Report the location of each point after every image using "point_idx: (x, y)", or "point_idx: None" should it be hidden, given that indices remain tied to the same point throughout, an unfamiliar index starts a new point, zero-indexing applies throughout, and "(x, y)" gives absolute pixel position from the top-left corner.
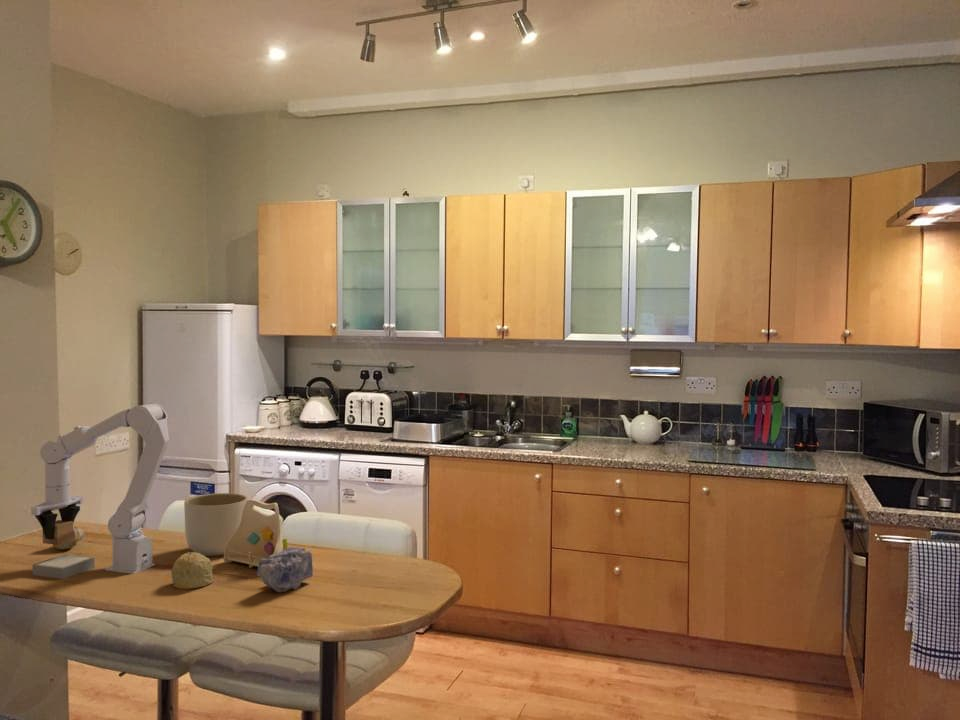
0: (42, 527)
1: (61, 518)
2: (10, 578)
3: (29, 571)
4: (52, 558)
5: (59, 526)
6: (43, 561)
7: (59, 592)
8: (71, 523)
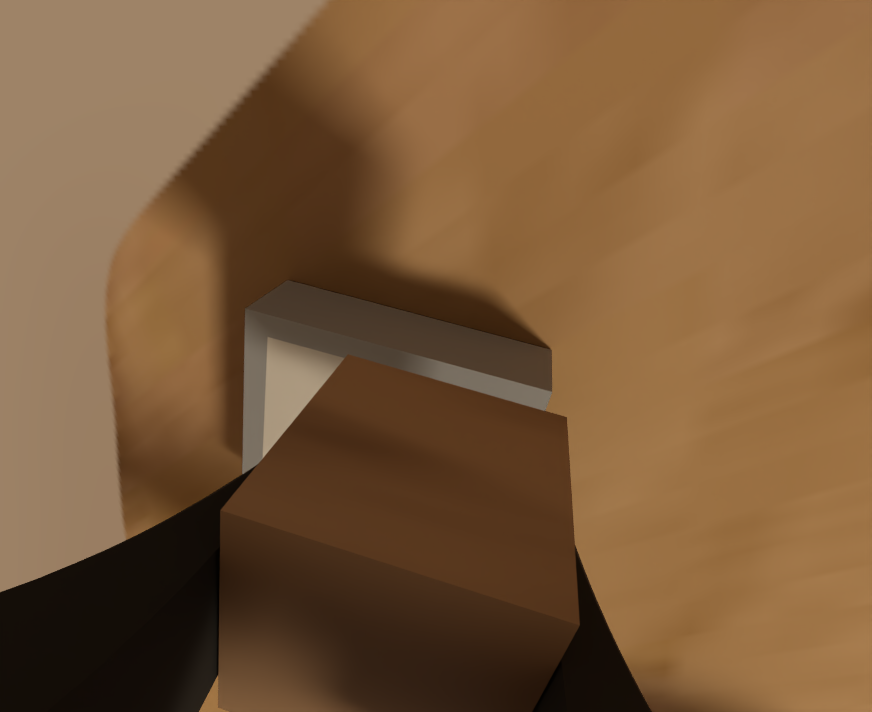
0: (169, 526)
1: (559, 706)
2: (211, 153)
3: (375, 182)
4: (418, 363)
5: (258, 703)
6: (332, 341)
7: (147, 529)
8: None
